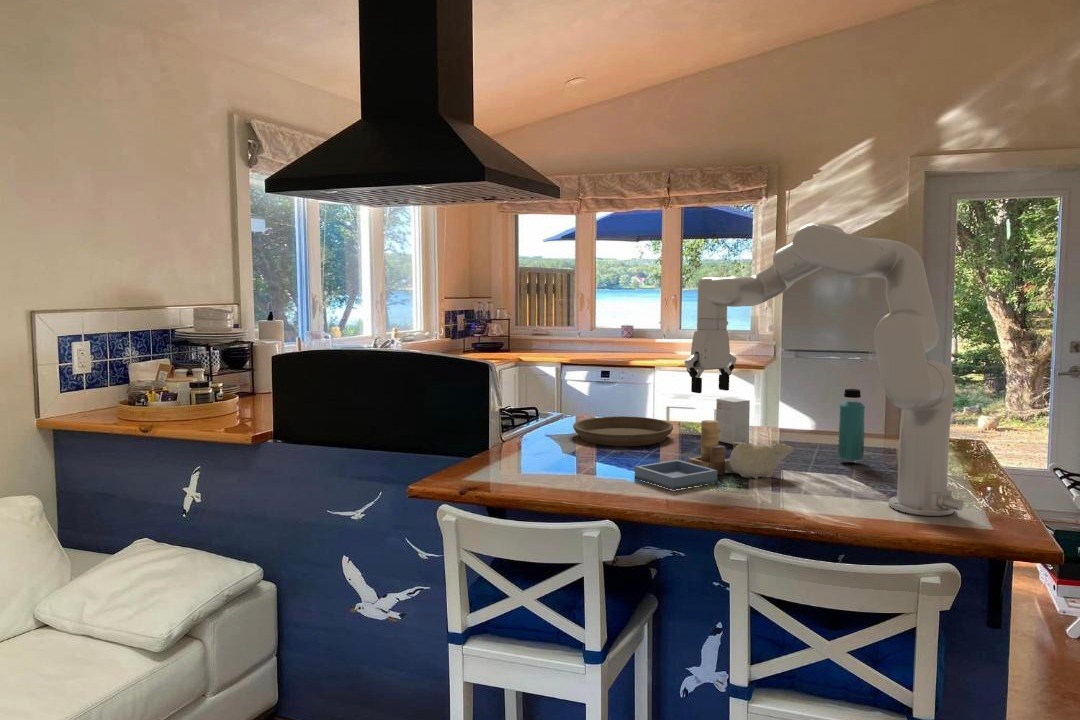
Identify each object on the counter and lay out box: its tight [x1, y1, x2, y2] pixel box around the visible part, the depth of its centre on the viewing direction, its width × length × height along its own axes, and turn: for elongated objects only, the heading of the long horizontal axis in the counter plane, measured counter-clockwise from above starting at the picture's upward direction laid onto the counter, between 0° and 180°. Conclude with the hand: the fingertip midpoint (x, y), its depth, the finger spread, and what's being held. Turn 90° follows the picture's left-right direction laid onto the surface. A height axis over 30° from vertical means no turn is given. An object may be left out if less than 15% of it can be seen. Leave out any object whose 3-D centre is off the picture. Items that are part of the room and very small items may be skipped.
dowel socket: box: [688, 456, 728, 468], centre depth 210 cm, size 8×8×2 cm
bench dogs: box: [710, 442, 745, 476], centre depth 204 cm, size 4×12×7 cm, turn 122°
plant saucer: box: [572, 415, 674, 447], centre depth 251 cm, size 31×31×5 cm
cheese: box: [725, 441, 794, 480], centre depth 200 cm, size 15×7×15 cm
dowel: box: [700, 419, 719, 463], centre depth 210 cm, size 4×4×12 cm
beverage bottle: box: [837, 388, 866, 461], centre depth 214 cm, size 6×7×20 cm
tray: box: [634, 459, 718, 490], centre depth 195 cm, size 14×14×3 cm
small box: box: [715, 397, 751, 445], centre depth 244 cm, size 8×6×13 cm
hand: (710, 391), depth 209 cm, fingers open, 9 cm apart
